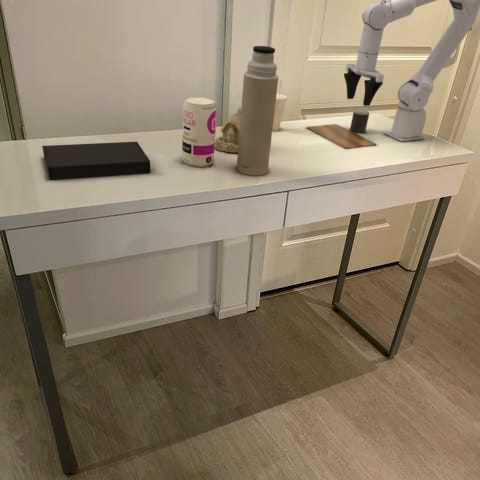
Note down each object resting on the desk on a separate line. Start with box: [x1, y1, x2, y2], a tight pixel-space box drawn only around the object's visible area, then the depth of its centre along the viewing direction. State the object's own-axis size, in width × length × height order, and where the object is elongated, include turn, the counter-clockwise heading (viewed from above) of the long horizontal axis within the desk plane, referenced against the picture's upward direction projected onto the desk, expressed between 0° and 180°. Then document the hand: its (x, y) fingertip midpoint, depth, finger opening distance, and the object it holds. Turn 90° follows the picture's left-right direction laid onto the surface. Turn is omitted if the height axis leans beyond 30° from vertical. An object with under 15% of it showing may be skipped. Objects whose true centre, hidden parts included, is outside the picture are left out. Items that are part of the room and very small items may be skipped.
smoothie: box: [272, 80, 288, 132], centre depth 153 cm, size 6×6×14 cm
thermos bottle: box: [236, 45, 279, 176], centre depth 120 cm, size 8×8×28 cm
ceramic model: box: [215, 107, 241, 153], centre depth 139 cm, size 14×11×10 cm
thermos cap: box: [349, 108, 370, 134], centre depth 161 cm, size 5×5×6 cm
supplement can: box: [181, 96, 218, 168], centre depth 125 cm, size 8×8×15 cm
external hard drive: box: [41, 141, 151, 180], centre depth 121 cm, size 14×23×3 cm, turn 112°
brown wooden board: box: [306, 123, 377, 150], centre depth 157 cm, size 12×20×1 cm, turn 29°
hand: (358, 102), depth 153 cm, fingers open, 7 cm apart
